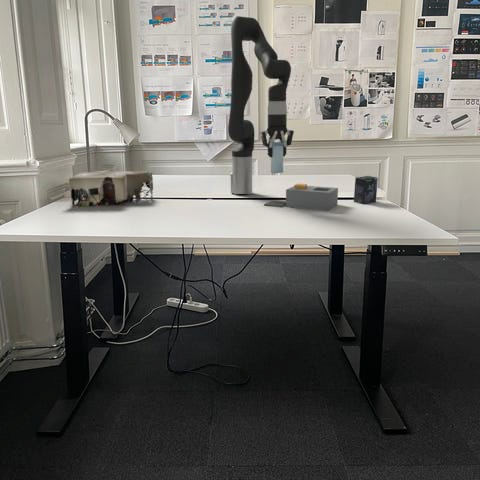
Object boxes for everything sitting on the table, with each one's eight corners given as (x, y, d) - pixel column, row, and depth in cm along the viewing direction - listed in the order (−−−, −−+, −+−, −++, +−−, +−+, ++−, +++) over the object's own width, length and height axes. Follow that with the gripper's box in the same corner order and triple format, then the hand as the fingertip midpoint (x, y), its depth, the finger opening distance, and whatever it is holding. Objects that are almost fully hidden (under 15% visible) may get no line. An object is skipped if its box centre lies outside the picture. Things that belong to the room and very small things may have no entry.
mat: (263, 205, 201) (263, 204, 201) (271, 202, 208) (271, 200, 208) (281, 207, 198) (281, 205, 197) (289, 203, 204) (289, 202, 204)
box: (363, 204, 201) (365, 178, 198) (353, 202, 206) (354, 177, 203) (376, 202, 206) (378, 177, 203) (366, 199, 210) (367, 175, 207)
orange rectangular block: (294, 197, 200) (294, 185, 199) (297, 195, 204) (297, 183, 203) (303, 197, 199) (303, 185, 197) (306, 196, 202) (306, 184, 201)
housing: (285, 206, 199) (286, 189, 197) (296, 201, 209) (296, 185, 207) (328, 210, 191) (329, 192, 189) (337, 204, 201) (338, 187, 199)
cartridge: (268, 171, 201) (268, 142, 198) (280, 171, 202) (280, 141, 199) (273, 173, 196) (273, 143, 193) (285, 172, 197) (285, 142, 194)
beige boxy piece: (148, 207, 202) (146, 175, 198) (71, 208, 201) (68, 176, 198) (155, 198, 219) (153, 169, 215) (84, 199, 218) (81, 170, 215)
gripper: (290, 112, 198) (289, 155, 203) (256, 113, 194) (257, 156, 199) (297, 113, 191) (297, 156, 196) (263, 113, 187) (263, 158, 192)
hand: (276, 156), depth 197 cm, fingers closed on cartridge, 5 cm apart
